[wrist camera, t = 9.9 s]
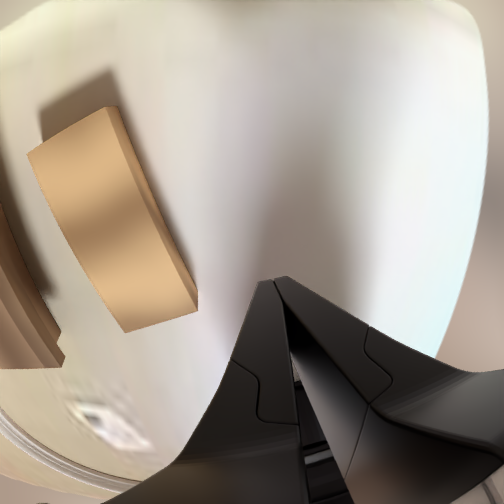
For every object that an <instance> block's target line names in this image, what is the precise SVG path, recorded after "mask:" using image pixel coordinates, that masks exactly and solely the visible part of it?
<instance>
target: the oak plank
mask: <svg viewBox="0 0 504 504" xmlns="http://www.w3.org/2000/svg"><path fill="white" fill-rule="evenodd" d="M27 156H28V159H29V162H30V164H31V166H32V169H33V171H34V174H35V176H36V178H37V181H38V183H39V185H40V187H41V190H42V192H43V194H44V196H45V198H46V201H47V203H48V205H49V207H50V209H51V211H52V213H53V215H54V217H55V219H56V221H57V223H58V225H59V227H60V229H61V231H62V233H63V234H64V236H65V238H66V240H67V242H68V244H69V246H70V247H71V249H72V251H73V253H74V254H75V256H76V258H77V260H78V261H79V263H80V265H81V267H82V268H83V270H84V272H85V273H86V275H87V277H88V278H89V280H90V281H91V283H92V285H93V286H94V288H95V289H96V291H97V293H98V294H99V296H100V297H101V299H102V300H103V302H104V303H105V305H106V306H107V308H108V309H109V311H110V312H111V314H112V315H113V317H114V318H115V320H116V321H117V322H118V324H119V325H120V327H121V328H122V330H123V331H124V332H125V333H127V332H131V331H134V330H138V329H141V328H144V327H148V326H151V325H155V324H158V323H161V322H164V321H168V320H171V319H174V318H177V317H181V316H184V315H187V314H190V313H193V312H197V311H198V291H197V289H196V287H195V285H194V283H193V281H192V279H191V277H190V275H189V273H188V271H187V269H186V267H185V264H184V262H183V260H182V258H181V256H180V254H179V252H178V250H177V248H176V246H175V243H174V241H173V239H172V237H171V235H170V233H169V230H168V228H167V226H166V224H165V222H164V219H163V217H162V215H161V213H160V211H159V208H158V206H157V204H156V202H155V199H154V197H153V195H152V192H151V190H150V188H149V185H148V183H147V181H146V178H145V176H144V174H143V171H142V169H141V166H140V164H139V161H138V159H137V157H136V154H135V152H134V149H133V147H132V144H131V142H130V139H129V136H128V134H127V131H126V129H125V126H124V123H123V121H122V118H121V116H120V113H119V110H118V107H117V106H109V107H104V108H102V109H100V110H98V111H96V112H94V113H92V114H90V115H89V116H87V117H85V118H83V119H81V120H80V121H78V122H76V123H74V124H73V125H71V126H69V127H68V128H66V129H64V130H63V131H61V132H59V133H58V134H56V135H54V136H53V137H51V138H50V139H48V140H47V141H45V142H44V143H42V144H41V145H39V146H38V147H36V148H35V149H33V150H32V151H30V152H29V153H27Z"/></svg>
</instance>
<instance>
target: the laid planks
mask: <svg viewBox="0 0 504 504" xmlns="http://www.w3.org/2000/svg"><path fill="white" fill-rule="evenodd" d="M60 334H61V331H60V329H59V327H58V326H57V324H56V322H55V321H54V319H53V317H52V315H51V314H50V312H49V310H48V308H47V307H46V305H45V303H44V301H43V299H42V297H41V295H40V294H39V292H38V290H37V288H36V286H35V284H34V282H33V280H32V278H31V276H30V274H29V272H28V269H27V267H26V265H25V263H24V261H23V259H22V256H21V254H20V252H19V249H18V247H17V245H16V242H15V240H14V237H13V235H12V232H11V230H10V227H9V225H8V222H7V219H6V217H5V214H4V211H3V208H2V205H1V202H0V369H38V368H61V367H62V365H63V362H64V359H65V355H64V354H63V353H62V351H61V350H60V348H59V347H58V345H57V344H56V343H57V340H58V338H59V336H60Z"/></svg>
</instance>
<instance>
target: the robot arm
mask: <svg viewBox="0 0 504 504" xmlns="http://www.w3.org/2000/svg"><path fill="white" fill-rule="evenodd" d="M291 358H292V361H293V363H294V365H295V368H296V370H297V372H298V375H299V377H300V379H301V382H297V383H294V376H293V368H292V361H291ZM38 504H47V503H38ZM101 504H504V369H502V370H495V371H488V372H468V371H464V370H460V369H457V368H455V367H452V366H450V365H448V364H445V363H443V362H441V361H439V360H436V359H434V358H432V357H430V356H428V355H425V354H423V353H421V352H419V351H417V350H414V349H412V348H410V347H408V346H406V345H404V344H402V343H400V342H398V341H396V340H394V339H392V338H391V337H389V336H387V335H385V334H383V333H382V332H380V331H378V330H377V329H375V328H373V327H372V326H370V327H369V325H368V324H366V323H365V322H363V321H361V320H360V319H358V318H356V317H355V316H353V315H351V314H350V313H348V312H346V311H345V310H343V309H341V308H340V307H338V306H336V305H335V304H333V303H331V302H330V301H328V300H326V299H325V298H323V297H321V296H320V295H318V294H316V293H315V292H313V291H311V290H310V289H308V288H306V287H305V286H303V285H301V284H300V283H298V282H296V281H295V280H293V279H291V278H290V277H288V276H283V277H279V278H275V279H273V280H271V279H269V280H265V281H260V282H258V283H257V286H256V289H255V292H254V294H253V297H252V300H251V303H250V305H249V308H248V311H247V314H246V316H245V319H244V322H243V325H242V327H241V330H240V333H239V336H238V338H237V341H236V344H235V346H234V349H233V352H232V355H231V357H230V361H229V362H228V365H227V368H226V370H225V373H224V375H223V378H222V380H221V382H220V385H219V387H218V389H217V391H216V393H215V395H214V397H213V399H212V401H211V402H210V404H209V406H208V408H207V410H206V411H205V413H204V415H203V417H202V418H201V420H200V422H199V423H198V425H197V427H196V429H195V430H194V432H193V434H192V435H191V437H190V439H189V441H188V442H187V444H186V445H185V447H184V449H183V450H182V451H181V453H180V454H179V455H178V456H177V458H176V459H175V460H174V461H173V462H172V463H170V464H169V465H168V466H167V467H165V468H164V469H162V470H161V471H159V472H157V473H156V474H154V475H152V476H151V477H149V478H147V479H146V480H144V481H142V482H141V483H139V484H137V485H135V486H134V487H132V488H130V489H128V490H127V491H125V492H123V493H121V494H119V495H117V496H116V497H114V498H112V499H110V500H108V501H106V502H104V503H101Z"/></svg>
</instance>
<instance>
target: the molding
mask: <svg viewBox="0 0 504 504" xmlns="http://www.w3.org/2000/svg"><path fill="white" fill-rule="evenodd" d="M0 433H2V434H3V435H4V436H5V437H6V438H7V439H8V440H10V441H11V442H12V443H13V444H15V445H16V446H17V447H19V448H20V449H21V450H23V451H24V452H26V453H27V454H28V455H30V456H31V457H33V458H35V459H36V460H38V461H40V462H41V463H43V464H45V465H47V466H48V467H50V468H52V469H54V470H56V471H58V472H60V473H62V474H64V475H67V476H69V477H71V478H74V479H76V480H79V481H81V482H84V483H87V484H90V485H93V486H96V487H99V488H102V489H106V490H109V491H113V492H118V493H123V492H125V491H127V490H128V489H130V488H132V487H134V486H135V485H137V484H139V483H141V482H138V481H132V480H127V479H122V478H118V477H114V476H110V475H107V474H104V473H100V472H97V471H95V470H92V469H89V468H86V467H84V466H81V465H79V464H77V463H75V462H72V461H70V460H68V459H66V458H64V457H62V456H60V455H59V454H57V453H55V452H53V451H52V450H50V449H48V448H47V447H45V446H44V445H42V444H41V443H39V442H38V441H36V440H35V439H34V438H32V437H31V436H30V435H29V434H27V433H26V432H25V431H24V430H23V429H21V428H20V427H19V426H18V425H17V424H16V423H15V422H14V421H13V420H12V419H11V418H10V417H9V416H8V415H7V414H6V413H5V412H4V410H3V409H2V408H1V407H0Z"/></svg>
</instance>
